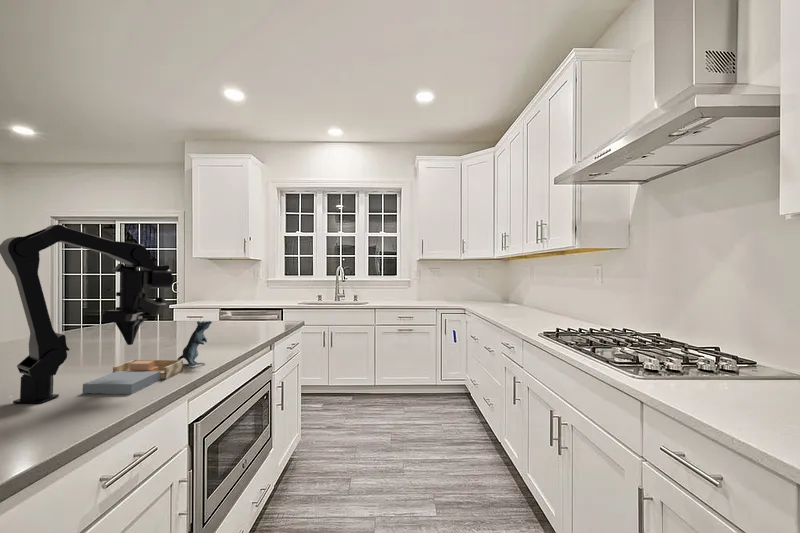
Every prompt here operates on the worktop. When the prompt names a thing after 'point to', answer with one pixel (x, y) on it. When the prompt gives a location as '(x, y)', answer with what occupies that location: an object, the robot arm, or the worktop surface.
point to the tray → (164, 366)
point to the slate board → (122, 382)
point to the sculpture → (195, 343)
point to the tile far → (152, 369)
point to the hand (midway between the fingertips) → (130, 344)
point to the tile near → (142, 365)
